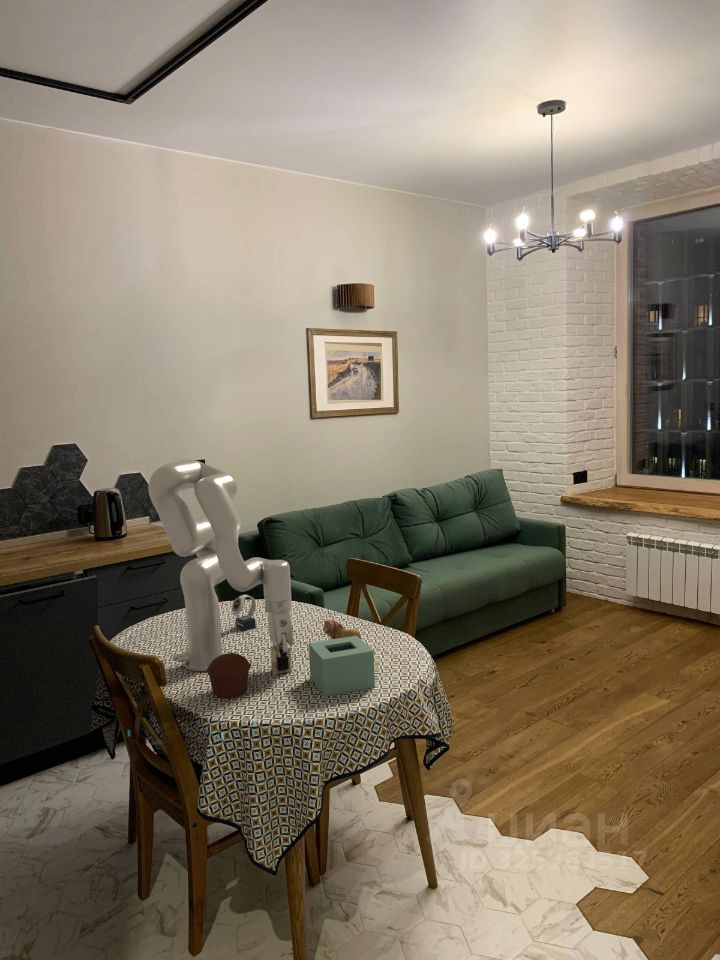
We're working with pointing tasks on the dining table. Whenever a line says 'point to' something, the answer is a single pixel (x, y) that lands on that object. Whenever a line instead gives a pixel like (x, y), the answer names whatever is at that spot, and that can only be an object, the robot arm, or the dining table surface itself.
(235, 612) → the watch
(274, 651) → the beige upright block
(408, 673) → the dining table surface
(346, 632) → the lion figurine
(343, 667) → the money box
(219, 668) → the muffin
